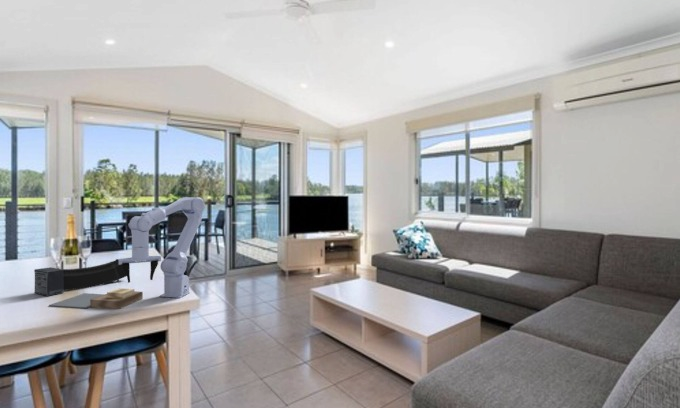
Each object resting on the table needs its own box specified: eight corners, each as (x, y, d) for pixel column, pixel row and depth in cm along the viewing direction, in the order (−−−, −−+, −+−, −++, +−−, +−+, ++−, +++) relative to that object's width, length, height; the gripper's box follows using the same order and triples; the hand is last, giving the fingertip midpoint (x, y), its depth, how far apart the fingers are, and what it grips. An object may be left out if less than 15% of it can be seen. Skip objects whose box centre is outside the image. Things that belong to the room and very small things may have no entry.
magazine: (43, 274, 146) (118, 246, 169) (41, 273, 148) (115, 245, 171) (58, 309, 150) (129, 277, 173) (55, 308, 152) (126, 276, 175)
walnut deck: (142, 298, 144) (142, 291, 144) (118, 309, 131) (118, 301, 131) (116, 297, 145) (116, 290, 145) (90, 307, 132) (90, 299, 132)
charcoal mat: (118, 296, 147) (118, 295, 147) (86, 308, 131) (86, 307, 131) (84, 294, 149) (84, 293, 149) (48, 306, 133) (48, 305, 133)
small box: (65, 292, 150) (64, 269, 150) (47, 296, 144) (46, 272, 144) (51, 289, 155) (51, 266, 154) (33, 293, 149) (33, 269, 148)
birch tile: (134, 294, 140) (134, 289, 140) (123, 298, 134) (123, 293, 134) (118, 293, 141) (118, 288, 141) (107, 297, 135) (107, 292, 135)
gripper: (159, 244, 144) (159, 276, 144) (118, 246, 136) (118, 280, 136) (161, 246, 138) (161, 280, 138) (118, 249, 130) (118, 284, 130)
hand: (140, 280), depth 137 cm, fingers open, 7 cm apart
